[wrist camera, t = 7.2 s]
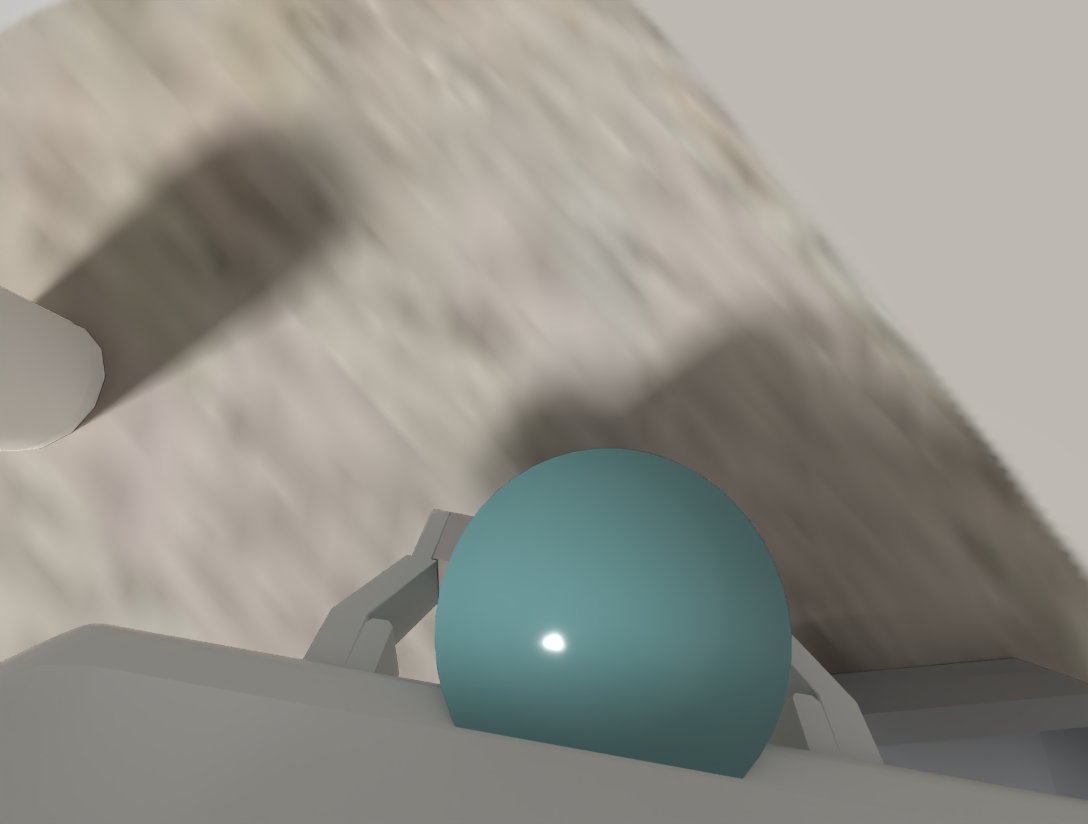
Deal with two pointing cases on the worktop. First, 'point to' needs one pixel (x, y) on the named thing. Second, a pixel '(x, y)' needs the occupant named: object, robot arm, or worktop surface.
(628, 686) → the teal cylinder
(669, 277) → the worktop surface
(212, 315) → the worktop surface
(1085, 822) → the robot arm
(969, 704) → the tray
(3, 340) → the foam cup
